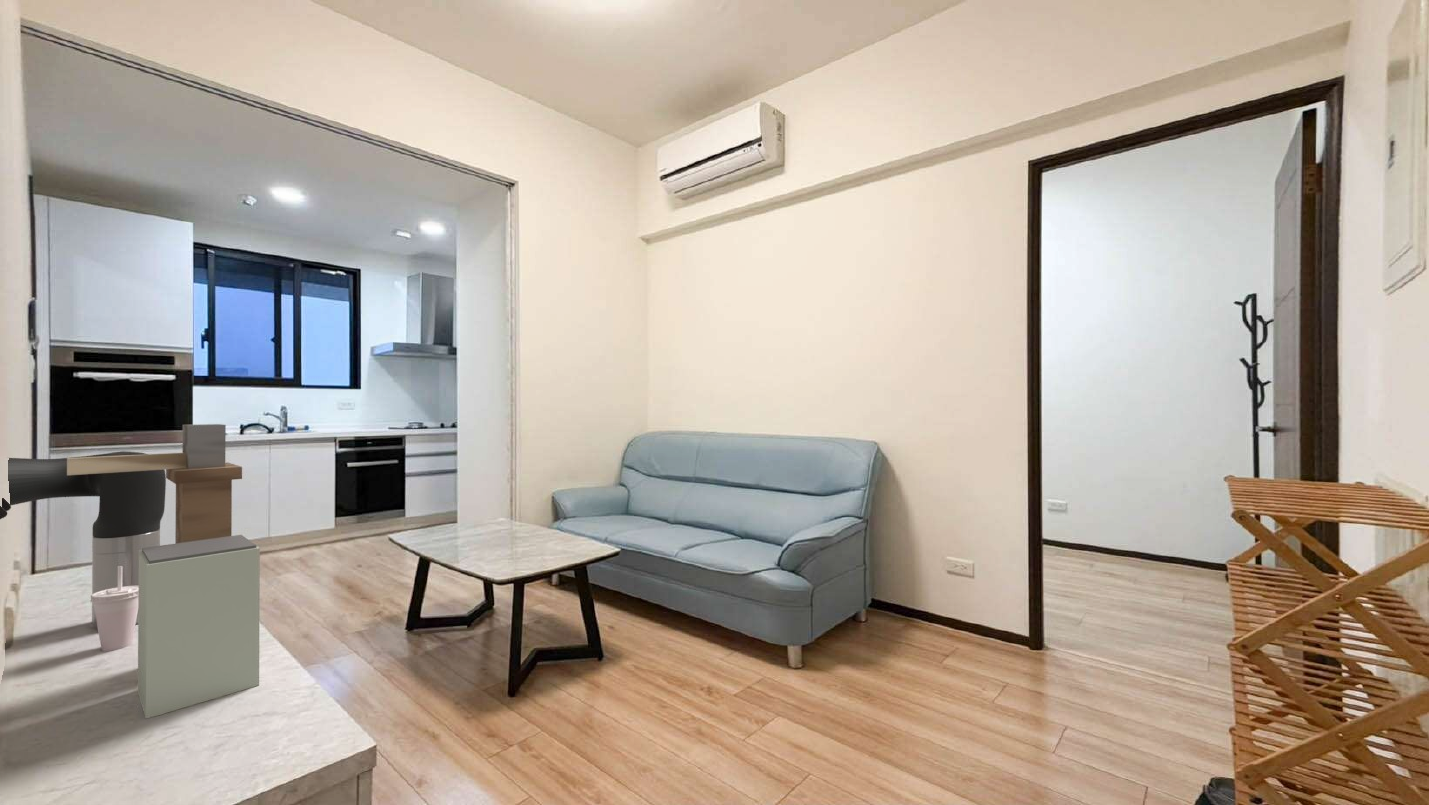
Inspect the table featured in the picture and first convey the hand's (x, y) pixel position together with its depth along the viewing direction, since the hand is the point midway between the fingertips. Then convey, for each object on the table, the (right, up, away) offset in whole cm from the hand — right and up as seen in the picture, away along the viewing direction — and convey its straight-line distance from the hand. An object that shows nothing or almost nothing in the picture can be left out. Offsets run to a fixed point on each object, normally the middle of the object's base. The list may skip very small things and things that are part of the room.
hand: (4, 505), depth 78 cm
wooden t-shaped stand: (+13, -28, +16) cm, 35 cm away
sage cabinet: (+22, -28, +6) cm, 36 cm away
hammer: (+9, +4, +11) cm, 14 cm away
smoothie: (-6, -29, +20) cm, 36 cm away
